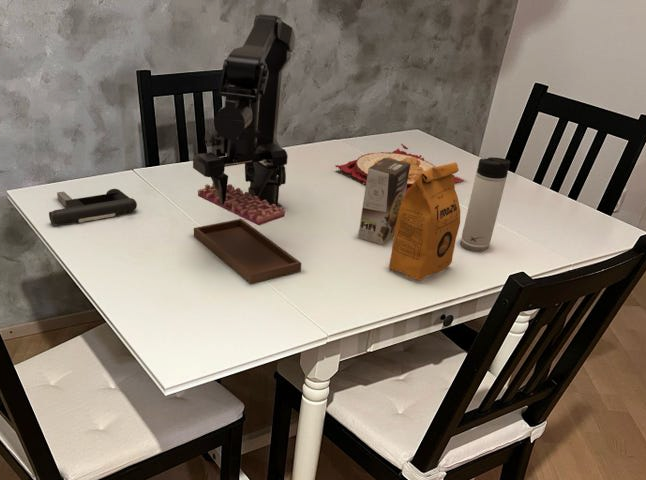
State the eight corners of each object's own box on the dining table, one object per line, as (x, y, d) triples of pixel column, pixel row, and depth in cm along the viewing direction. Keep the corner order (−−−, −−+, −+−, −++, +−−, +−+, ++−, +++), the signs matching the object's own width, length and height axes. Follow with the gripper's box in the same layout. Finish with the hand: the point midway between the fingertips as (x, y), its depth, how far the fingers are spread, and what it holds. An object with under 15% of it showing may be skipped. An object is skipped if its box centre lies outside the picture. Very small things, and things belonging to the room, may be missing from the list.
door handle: (31, 192, 171) (53, 215, 159) (113, 180, 180) (140, 200, 168) (33, 206, 172) (55, 229, 161) (114, 194, 181) (141, 215, 170)
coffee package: (457, 271, 154) (481, 168, 142) (417, 287, 148) (438, 180, 135) (421, 253, 161) (441, 153, 148) (381, 267, 154) (398, 164, 142)
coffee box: (383, 245, 163) (395, 174, 154) (357, 238, 165) (367, 167, 156) (399, 232, 169) (412, 163, 160) (374, 224, 172) (384, 156, 163)
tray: (240, 226, 167) (241, 218, 166) (300, 271, 151) (301, 262, 150) (193, 236, 162) (193, 227, 161) (250, 284, 145) (250, 274, 144)
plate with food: (332, 171, 200) (334, 159, 198) (397, 153, 213) (399, 141, 211) (398, 202, 185) (400, 189, 183) (464, 180, 199) (466, 168, 197)
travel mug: (474, 254, 161) (495, 165, 150) (454, 242, 166) (473, 154, 155) (495, 250, 164) (518, 161, 153) (475, 238, 169) (496, 151, 157)
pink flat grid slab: (221, 187, 160) (222, 178, 159) (284, 216, 149) (285, 207, 148) (195, 195, 156) (196, 186, 154) (258, 225, 145) (259, 216, 143)
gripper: (262, 107, 153) (258, 180, 161) (180, 117, 144) (180, 193, 153) (291, 123, 145) (285, 198, 154) (207, 134, 137) (205, 213, 145)
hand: (239, 200), depth 152 cm, fingers closed on pink flat grid slab, 7 cm apart
